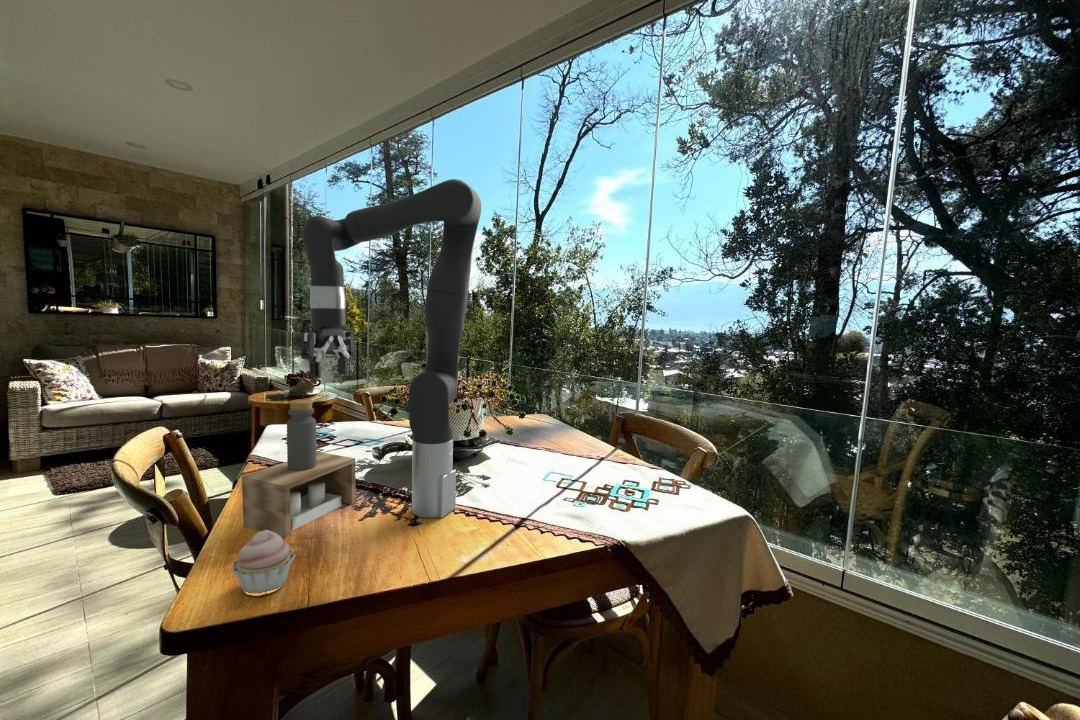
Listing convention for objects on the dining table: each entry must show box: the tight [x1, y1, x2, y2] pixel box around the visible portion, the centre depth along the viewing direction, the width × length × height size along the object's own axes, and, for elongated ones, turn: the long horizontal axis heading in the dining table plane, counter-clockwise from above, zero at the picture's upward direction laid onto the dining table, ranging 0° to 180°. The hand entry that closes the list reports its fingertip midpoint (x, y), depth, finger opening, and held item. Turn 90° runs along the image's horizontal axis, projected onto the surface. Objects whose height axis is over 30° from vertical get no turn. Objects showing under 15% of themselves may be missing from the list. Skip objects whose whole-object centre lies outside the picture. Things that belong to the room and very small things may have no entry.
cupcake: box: [231, 530, 296, 593], centre depth 81 cm, size 9×9×10 cm
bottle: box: [286, 398, 317, 471], centre depth 108 cm, size 6×6×15 cm
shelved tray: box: [290, 482, 343, 531], centre depth 109 cm, size 8×14×6 cm, turn 160°
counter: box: [241, 451, 357, 539], centre depth 109 cm, size 12×20×11 cm, turn 160°
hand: (329, 375), depth 114 cm, fingers open, 8 cm apart
